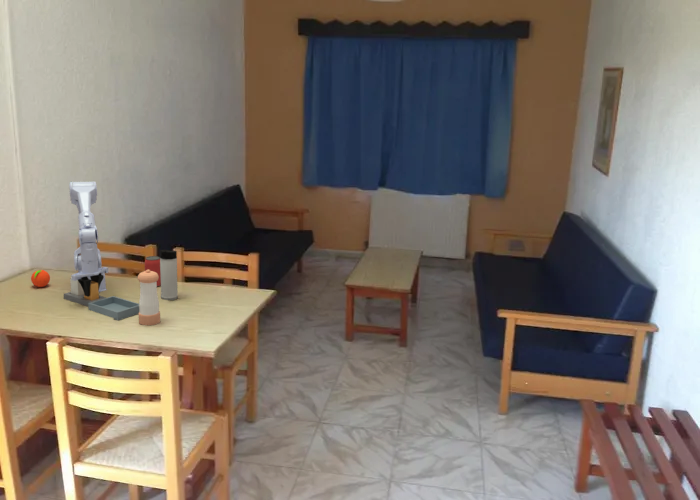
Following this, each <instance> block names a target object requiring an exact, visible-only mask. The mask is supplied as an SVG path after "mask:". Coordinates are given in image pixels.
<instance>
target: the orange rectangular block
mask: <svg viewBox="0 0 700 500" xmlns="http://www.w3.org/2000/svg"><path fill="white" fill-rule="evenodd" d="M99 294H100V292H99V291H98V283H97V282H94V281H91V284H90V296H89V297H88V296H85V294H84V298H85V299H88V300H91V301H92V300H95V299H99V296H100V295H99Z"/></svg>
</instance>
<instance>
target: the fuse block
mask: <svg viewBox="0 0 700 500" xmlns="http://www.w3.org/2000/svg"><path fill="white" fill-rule="evenodd" d="M105 298H107V297H105V296H103V295H99V299H95V300H92V301H91V300H88V299H85V298H84V295H81V296H76V295H73V294H71V291H69V292H63V299H64V300H66V301H70V302H73V303H76V304H77V305H78V304H79V305H82V306H85V307H88V303H91V302H94V301H98V300H101V299H105Z"/></svg>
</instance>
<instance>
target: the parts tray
mask: <svg viewBox="0 0 700 500" xmlns="http://www.w3.org/2000/svg"><path fill="white" fill-rule="evenodd" d="M87 307H88V311H92V312H94V313H98V314H100V315H103V316H107V317H109V318H112V319H113V320H115V321H120V320H121V321H122V320H124V319H126V318H130V317H132V316H133V317H134V316H136V315H139V312H140V310H139V303H138V302H135V301H131V300H128V299H124V298H121V297H118V296H114V295H112V296H111V295H110V296H109V297H106V298H105V299H101V300H98V301H94V302H91V303H88V306H87Z"/></svg>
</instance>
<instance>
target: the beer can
mask: <svg viewBox="0 0 700 500" xmlns="http://www.w3.org/2000/svg"><path fill="white" fill-rule="evenodd" d="M146 270H150V271H153V272H156V273H157V274H158V276H159V278H158V281H156V282H157V287H161V271H160V256H156V255H150V256H146V257H145V260H144V271H146Z"/></svg>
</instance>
